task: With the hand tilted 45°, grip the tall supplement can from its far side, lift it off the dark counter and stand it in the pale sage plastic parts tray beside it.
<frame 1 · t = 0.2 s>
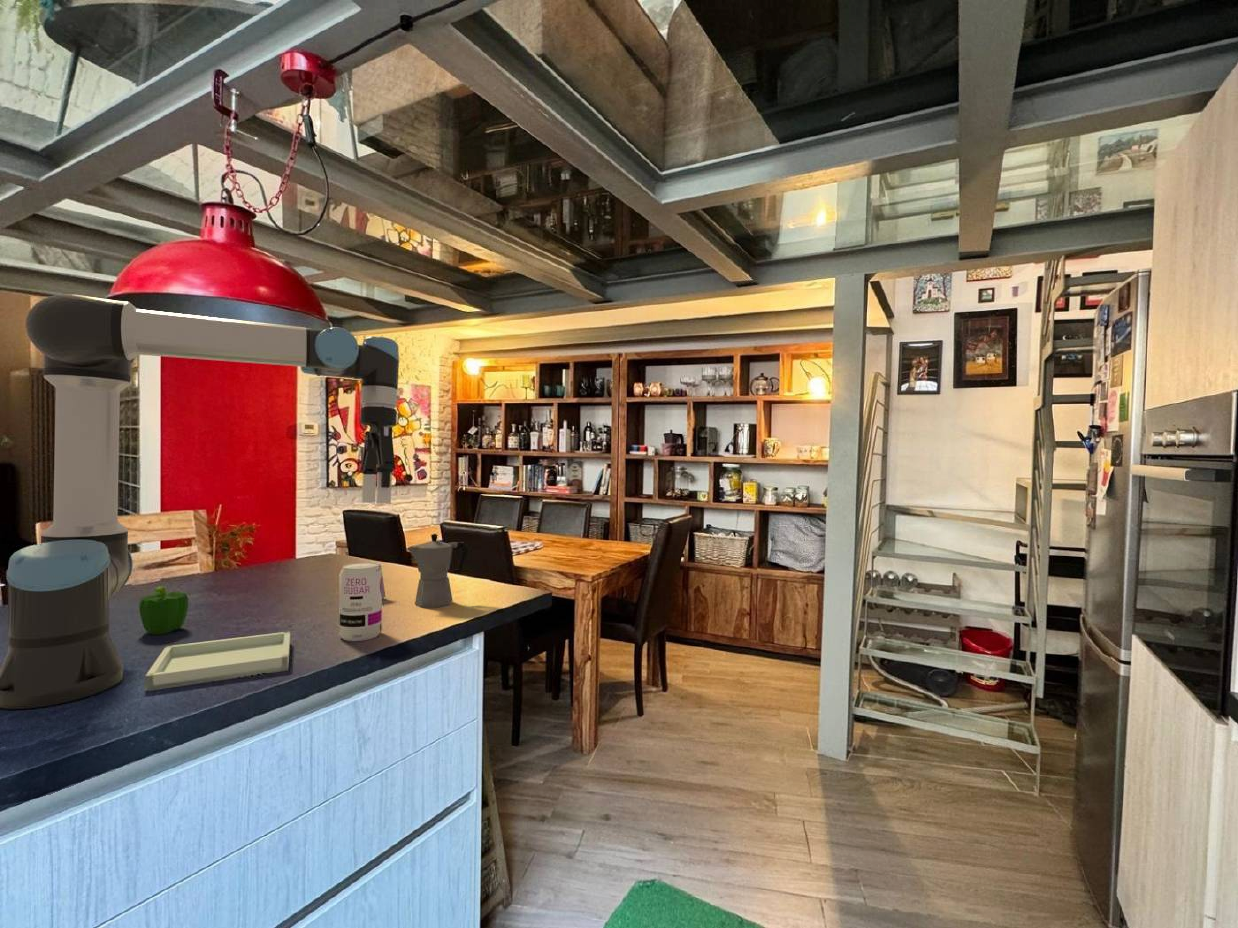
hand: (375, 503, 127), 28 cm above the table, tool pointing down, fingers open, 13 cm apart
bell pepper: (163, 632, 123), on the table
coffeepot: (438, 603, 149), on the table
electrical switch: (362, 601, 150), on the table
parts tray: (225, 664, 104), on the table
supplement can: (360, 636, 122), on the table
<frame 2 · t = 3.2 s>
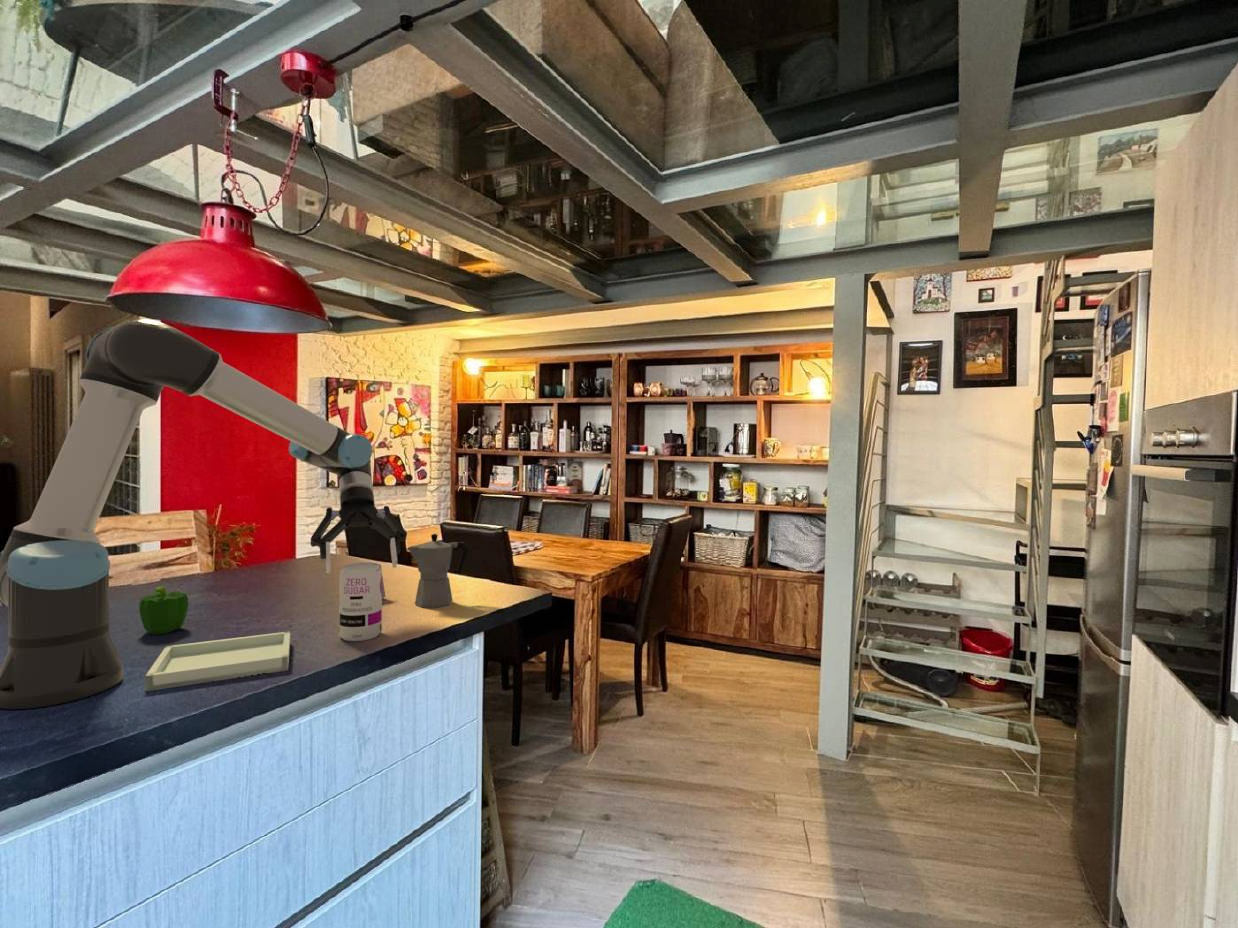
hand: (362, 567, 128), 13 cm above the table, tool tilted 45°, fingers open, 13 cm apart
nothing on the table moved.
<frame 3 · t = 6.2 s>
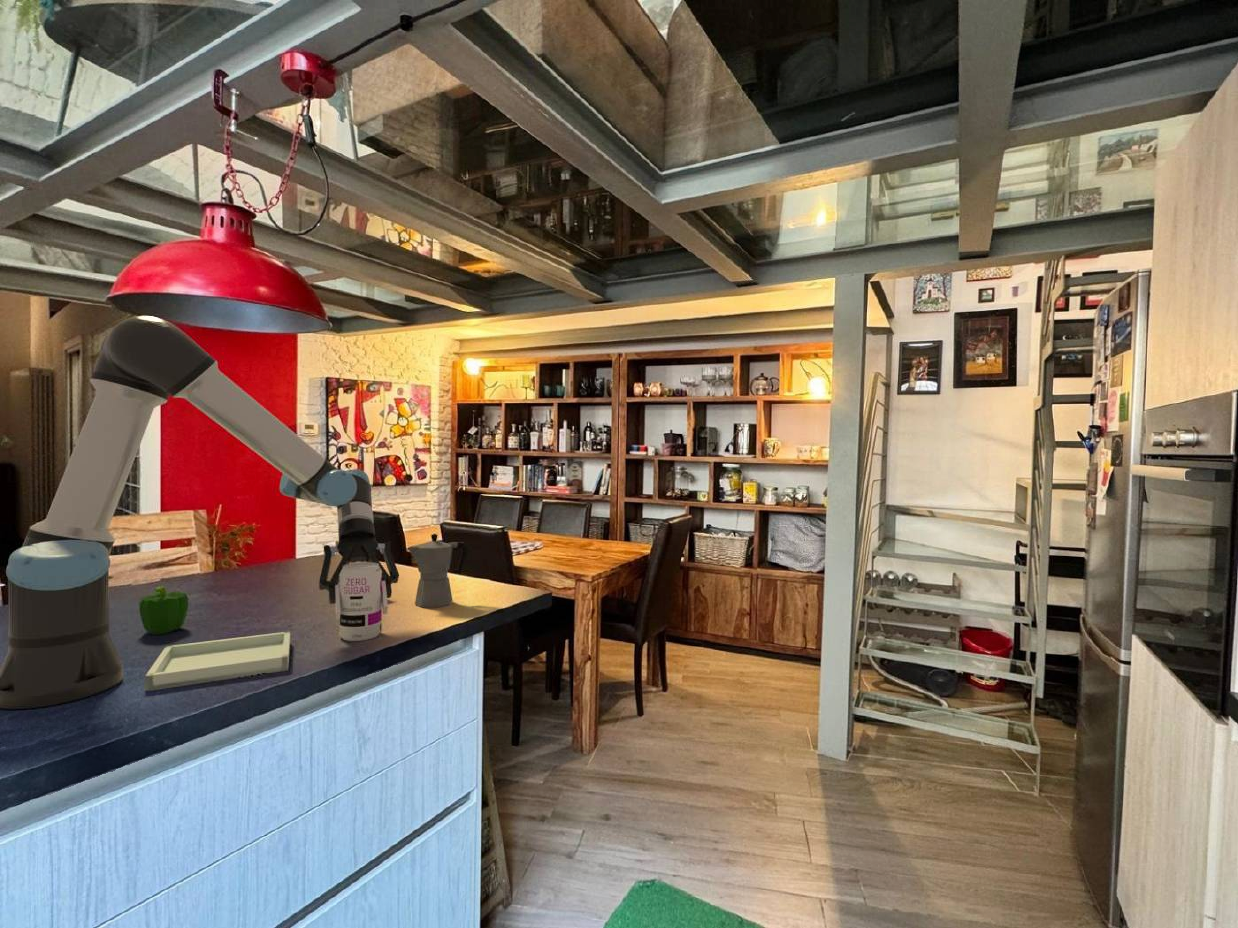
hand: (362, 612, 119), 6 cm above the table, tool tilted 45°, fingers closed on supplement can, 8 cm apart
supplement can: (360, 636, 122), on the table, touching gripper
everything else where it was.
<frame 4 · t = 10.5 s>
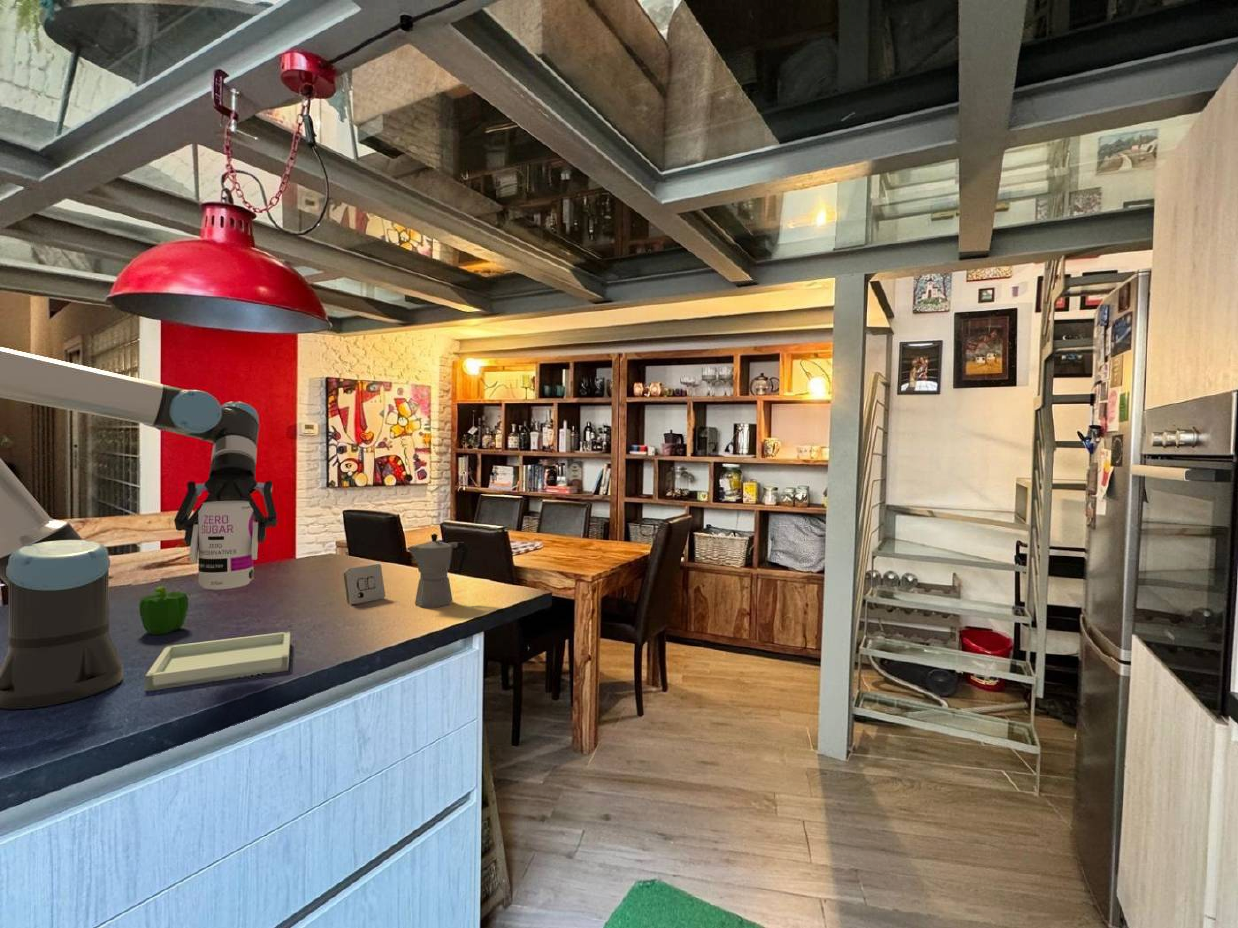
hand: (224, 556, 101), 20 cm above the table, tool tilted 45°, fingers closed on supplement can, 8 cm apart
supplement can: (226, 585, 104), point 14 cm above the table, touching gripper
everything else where it was.
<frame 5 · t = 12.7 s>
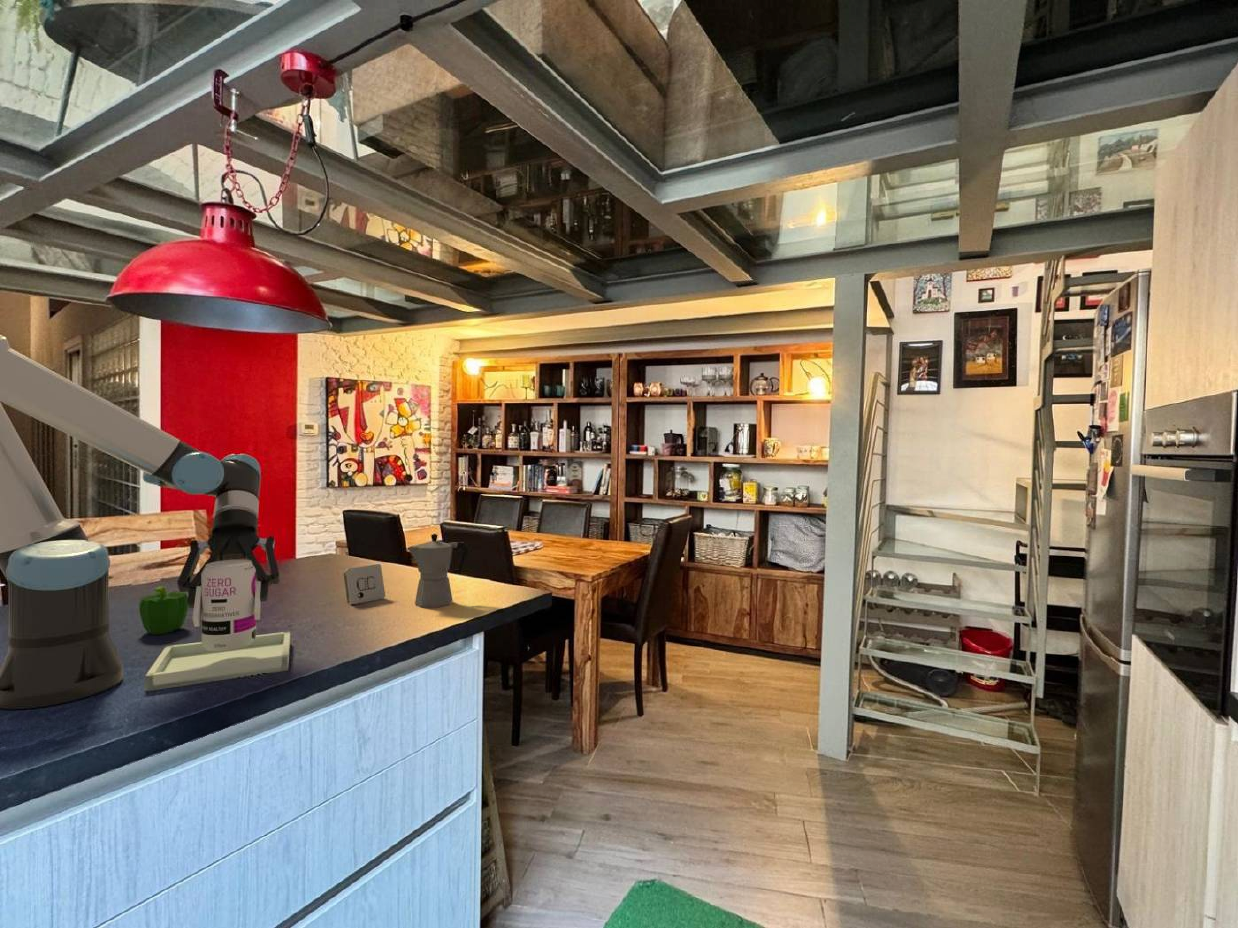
hand: (227, 618, 102), 9 cm above the table, tool tilted 45°, fingers closed on supplement can, 8 cm apart
supplement can: (229, 645, 105), point 3 cm above the table, touching gripper
everything else where it was.
when the fingers open (7 cm above the table, at t = 14.6 s): supplement can stays where it is, resting on parts tray.
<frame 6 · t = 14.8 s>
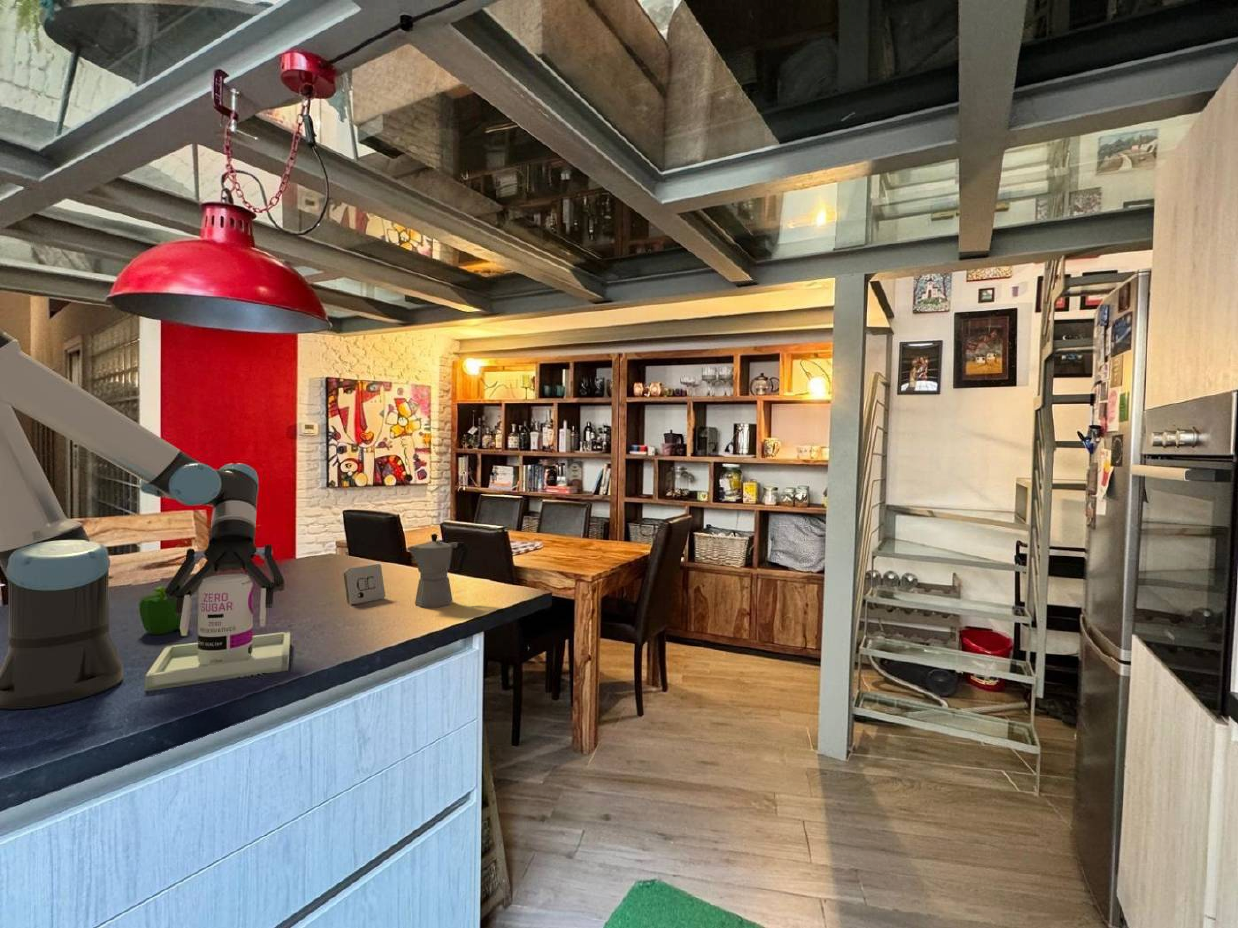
hand: (223, 627, 102), 8 cm above the table, tool tilted 45°, fingers open, 11 cm apart
supplement can: (225, 661, 104), point 1 cm above the table, touching parts tray
everything else where it was.
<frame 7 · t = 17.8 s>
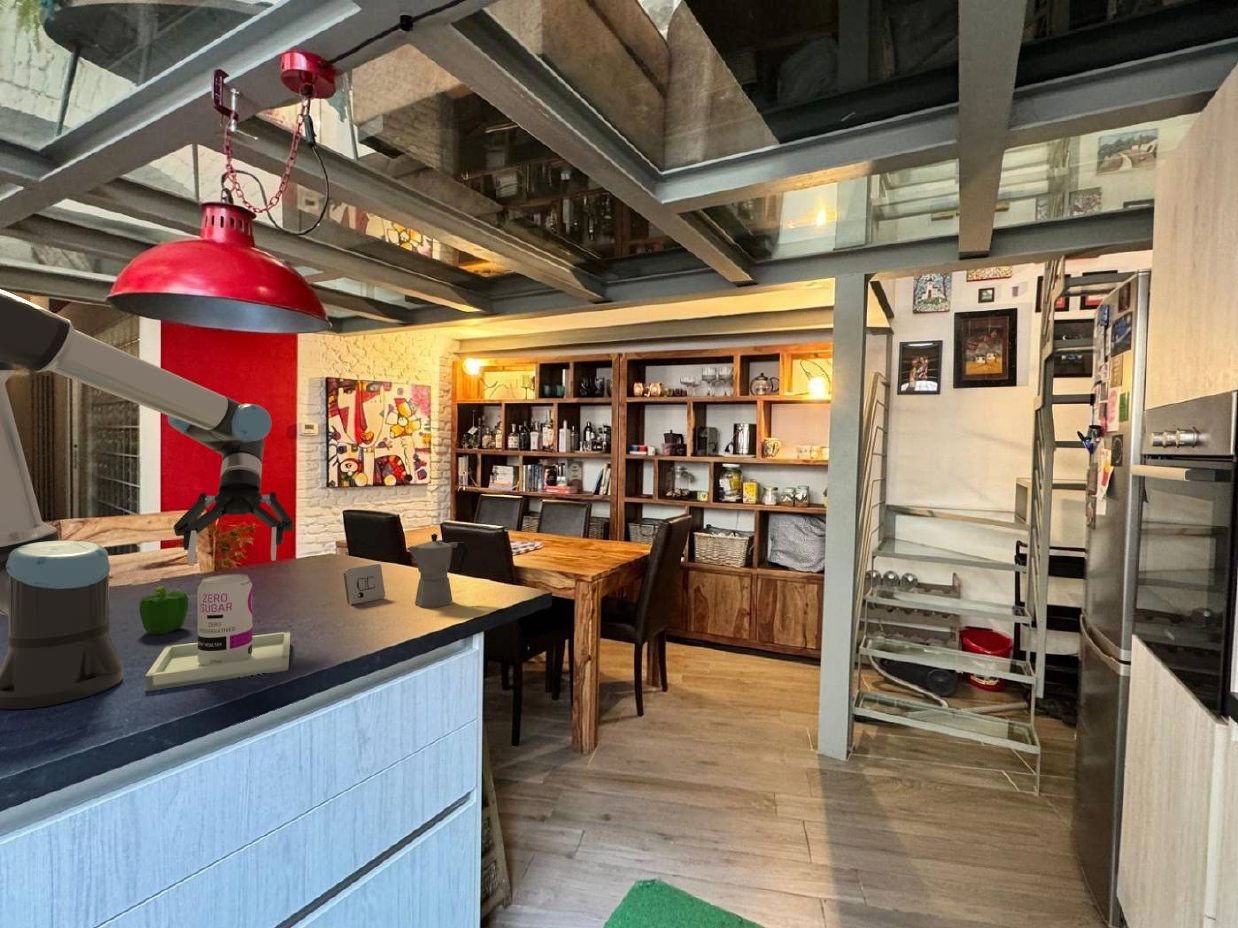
hand: (233, 559, 113), 18 cm above the table, tool tilted 45°, fingers open, 13 cm apart
nothing on the table moved.
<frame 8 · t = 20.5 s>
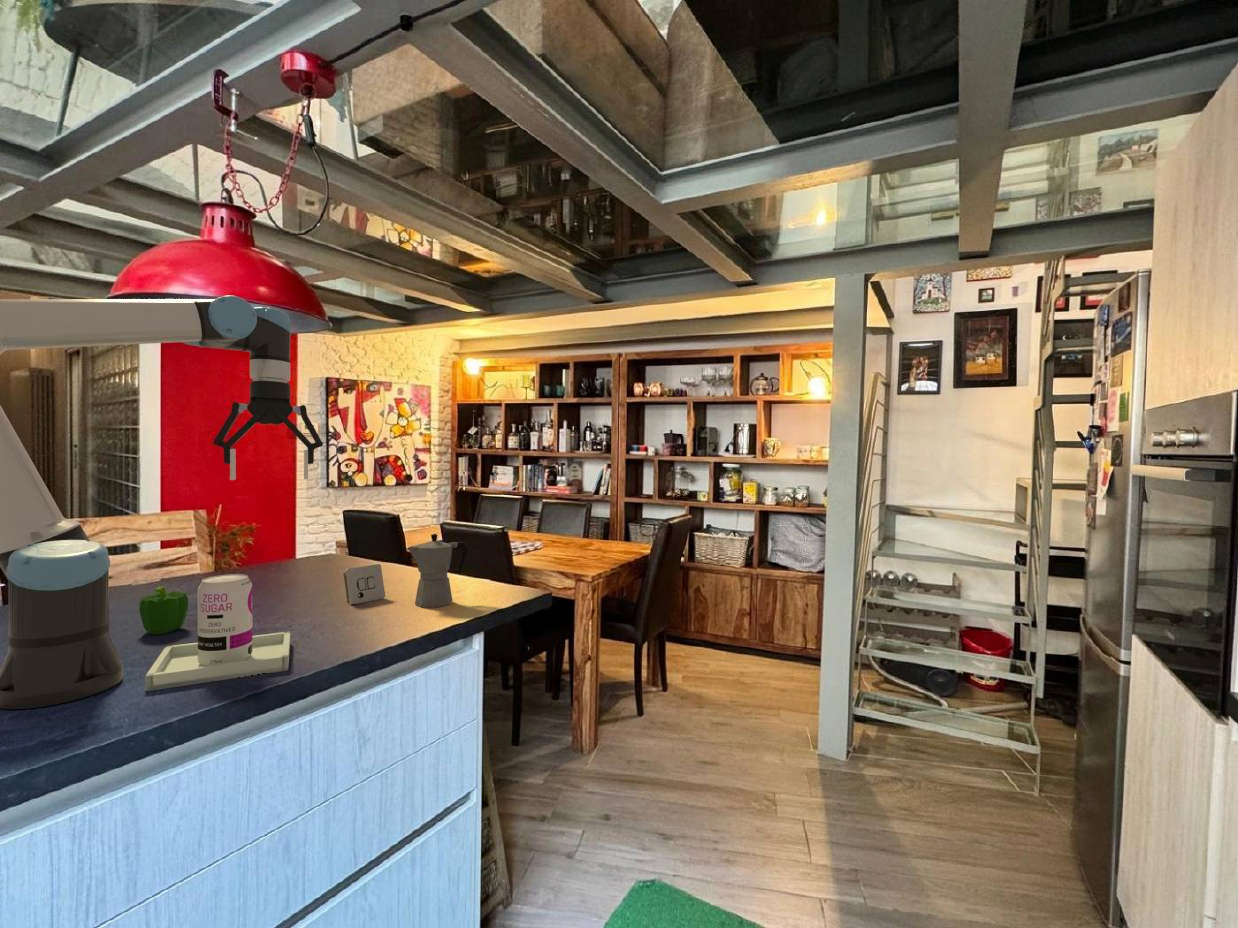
hand: (270, 479, 125), 33 cm above the table, tool pointing down, fingers open, 13 cm apart
nothing on the table moved.
at the end: supplement can inside the target area on the parts tray (0.1 cm from its centre), point 0.6 cm above the parts tray's base; supplement can tilted 0°; the gripper is holding nothing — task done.
